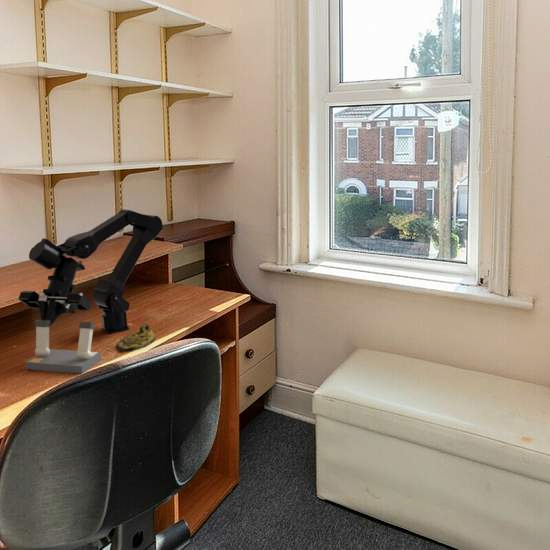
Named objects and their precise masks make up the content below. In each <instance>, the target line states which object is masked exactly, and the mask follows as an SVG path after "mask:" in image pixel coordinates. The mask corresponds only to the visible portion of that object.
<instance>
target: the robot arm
mask: <svg viewBox="0 0 550 550" xmlns="http://www.w3.org/2000/svg"><path fill="white" fill-rule="evenodd" d="M127 226H132V236H131V238H130V240H129V242H128V244H127V246H126V247H125V248H124V250H123V252H122V255H120V257H119V259H118V261H117V263H116V265H115V267H114V268H113V270H112V271H111V273H110V275H109V276H108V277H106V278H101V277H100V278H99V279H98V281H97V284H96V285H95V286H94V287H93V288H92V290H93V292H92V299H93V302H94V303H95V304H96V305H97V307H98V308H99V310H102V315H101V326H102V329H104V331H105V332H107V334H112V333H117V332H118V333H119V332H123V331H127V330H130V326H129V325H128V319H127V311H129V309H130V302H129V301H128V300H126V299H125V298H124V294H125V283H126V282H127V280H128V278H129V276H130V274H131V273H132V271H133V269H134V267H135V266H136V264H137V263H138V261H139V258H140V257H141V255H142V253H143V252H144V250H145V248H146V247H147V245H148V244H149V243H151V242H152V241H153V240H155V239H156V237H158V236H159V234H160V233H161V232H162V230H163V228H164V227H163V226H164V224H163V221H162V218H160V217H159V216H158V215H151V214H144V213H140V212H137V211H134V210H133V209H124V208H123V209H121V210H119V211H118V213H116V214H114V215H113V216H111V217H109V218H108V219H107V220H105V221H103V222H102V223H100V224H99V225H98V224H97V226H95V227H94V228H92V229H90V230H88V231H85V232H81V233H76V234H74V235H72V236H69V237H67V238H66V239H65V240H64V242H63V243H60V244H59V245H56V244H54V243H53V242H52V241H50V239H48V238H42V239H41V240H40V241H38V242H37V243H36V244H35V245H34V246H33V247H31V249H30V251H29V253H28V259H29V260H31V261H32V262H34V263H35V264H37V265H39V266H41V267H42V268H44V269H46V270H52V269H54V270H53V272H52V275H48V276H47V280H48V281H49V283H48V285H47V288H43V291H42V293H43V295H42V294H39V293H38V292H36V291H35V290H23V291H21V292H20V293H19V295H18V298H17V300H18V301H20V302H21V303H22V304H24V305H25V306H26V307H27V308H30V309H39V313H40V320H50V327H51V326H52V325H53V324H54V323H55V321H57V319H58V318H59V317H60V316H61V315H62V314H67V313H69V314H75V313H76V312H77V310H79V311H83V312H84V311H85V312H86V311H87V312H88V311H89V310H90V308H91V300H90V299H89V298H88V297H87V296H85V295H84V293H83V292H75V284H73V283H74V280H75V277H76V275H77V272H81V271H85V269H86V267H85V265H84V264H83V261H82V259H83V260H86V259H87V258H89V257H91V256H92V255H93V254H94V253H95V252H96V251H97V250H98V248H99V246H100V244H102V243H104V241H107V240H108V239H109V238H111V237H112V236H114V235H115V234H117V233H119V232H120V231H122V230H123V229H125V228H127ZM75 258H78V259H81V260H78V261H77V260H76V259H75Z"/></svg>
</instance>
